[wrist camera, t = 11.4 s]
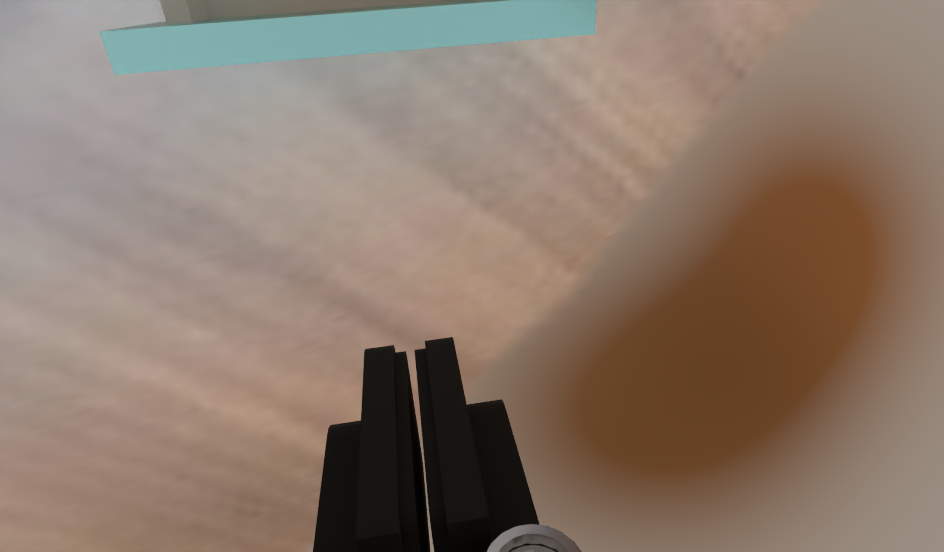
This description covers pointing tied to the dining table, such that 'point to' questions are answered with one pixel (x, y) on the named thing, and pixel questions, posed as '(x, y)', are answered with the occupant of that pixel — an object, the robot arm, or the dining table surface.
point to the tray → (331, 29)
